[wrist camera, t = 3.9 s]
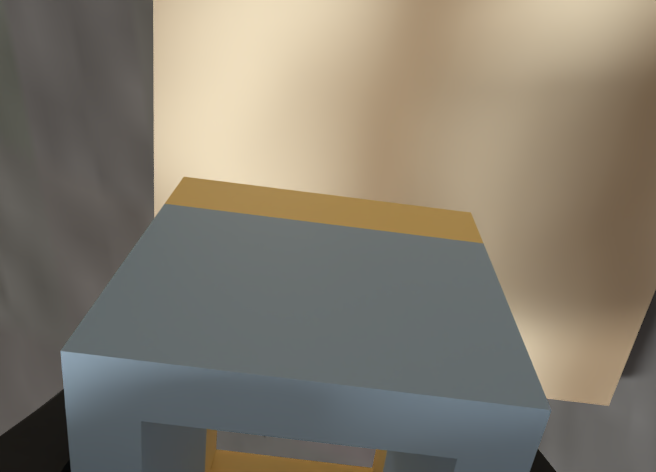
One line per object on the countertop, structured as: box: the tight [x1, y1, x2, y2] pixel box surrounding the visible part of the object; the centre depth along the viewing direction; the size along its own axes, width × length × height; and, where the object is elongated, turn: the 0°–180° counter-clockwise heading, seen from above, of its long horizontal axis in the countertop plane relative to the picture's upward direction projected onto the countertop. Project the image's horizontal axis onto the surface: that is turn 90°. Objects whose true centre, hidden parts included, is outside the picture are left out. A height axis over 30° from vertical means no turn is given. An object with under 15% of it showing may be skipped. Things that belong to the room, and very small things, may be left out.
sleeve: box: [61, 177, 551, 472], centre depth 10 cm, size 5×7×5 cm
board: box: [153, 0, 656, 406], centre depth 14 cm, size 14×20×5 cm
